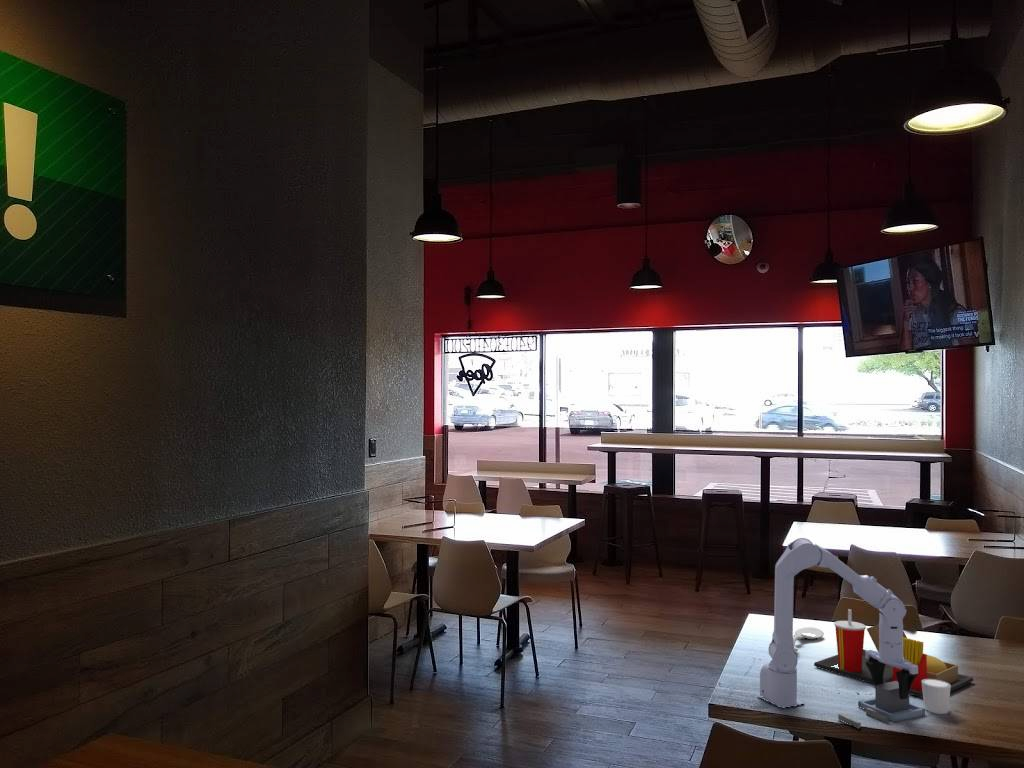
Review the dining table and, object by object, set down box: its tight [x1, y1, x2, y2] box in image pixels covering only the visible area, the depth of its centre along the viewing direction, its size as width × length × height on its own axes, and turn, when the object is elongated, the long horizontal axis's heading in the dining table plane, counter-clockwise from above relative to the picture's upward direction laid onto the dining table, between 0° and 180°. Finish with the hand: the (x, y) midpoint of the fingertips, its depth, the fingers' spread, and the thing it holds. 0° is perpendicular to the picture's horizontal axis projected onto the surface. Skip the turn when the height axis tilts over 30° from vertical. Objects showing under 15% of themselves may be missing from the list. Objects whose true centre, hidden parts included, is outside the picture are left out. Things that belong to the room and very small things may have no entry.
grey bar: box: [874, 681, 910, 713], centre depth 205 cm, size 4×8×6 cm, turn 117°
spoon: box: [768, 626, 824, 653], centre depth 263 cm, size 9×32×4 cm, turn 141°
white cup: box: [922, 679, 951, 715], centre depth 206 cm, size 7×7×7 cm
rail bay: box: [837, 708, 890, 730], centre depth 198 cm, size 6×11×2 cm, turn 115°
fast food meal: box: [813, 608, 974, 699], centre depth 233 cm, size 25×35×18 cm
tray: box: [857, 697, 926, 723], centre depth 205 cm, size 11×12×2 cm
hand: (890, 693), depth 205 cm, fingers open, 7 cm apart
